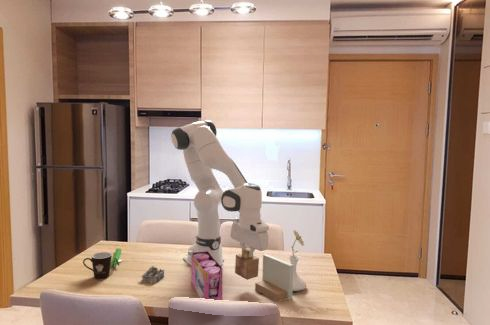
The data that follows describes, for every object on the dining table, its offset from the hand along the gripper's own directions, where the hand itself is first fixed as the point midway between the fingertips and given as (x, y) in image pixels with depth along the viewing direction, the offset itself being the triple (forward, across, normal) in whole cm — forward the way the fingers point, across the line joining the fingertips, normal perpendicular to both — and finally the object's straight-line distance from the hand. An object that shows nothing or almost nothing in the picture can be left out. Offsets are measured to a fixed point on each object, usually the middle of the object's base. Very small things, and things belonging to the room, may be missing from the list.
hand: (247, 254), depth 157 cm
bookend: (+15, +9, +7) cm, 19 cm away
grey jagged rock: (+18, -35, -25) cm, 46 cm away
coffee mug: (+19, -52, -43) cm, 70 cm away
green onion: (+19, -64, -30) cm, 73 cm away
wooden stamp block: (+9, 0, 0) cm, 9 cm away
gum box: (+17, -9, -14) cm, 23 cm away
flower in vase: (+15, +10, +19) cm, 26 cm away
